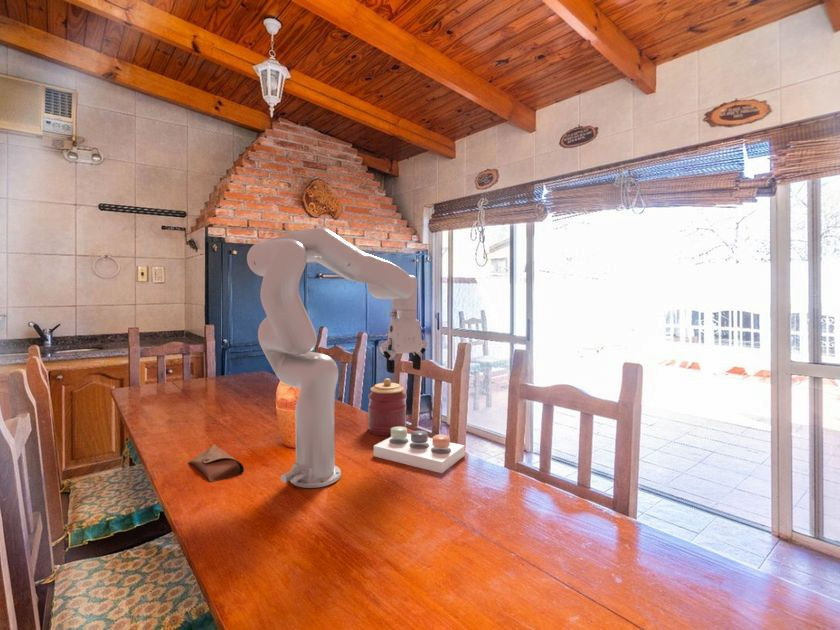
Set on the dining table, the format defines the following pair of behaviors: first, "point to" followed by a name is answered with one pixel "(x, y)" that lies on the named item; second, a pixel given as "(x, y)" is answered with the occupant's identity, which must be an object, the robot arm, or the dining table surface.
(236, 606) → the dining table surface
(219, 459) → the sunglasses case
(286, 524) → the dining table surface
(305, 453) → the robot arm
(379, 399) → the canister
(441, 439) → the terracotta button
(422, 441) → the charcoal button
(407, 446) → the panel
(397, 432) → the sage button
